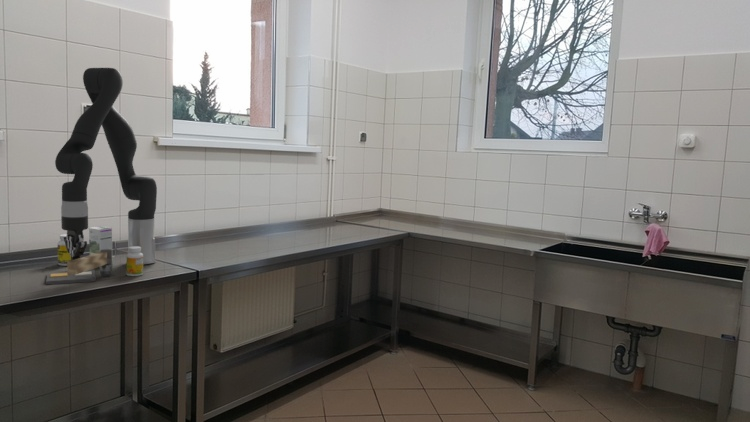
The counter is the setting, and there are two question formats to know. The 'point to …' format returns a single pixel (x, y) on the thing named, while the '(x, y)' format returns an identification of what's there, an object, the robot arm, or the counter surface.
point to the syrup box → (100, 239)
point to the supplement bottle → (134, 261)
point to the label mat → (70, 277)
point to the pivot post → (106, 270)
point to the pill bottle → (63, 252)
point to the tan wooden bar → (89, 262)
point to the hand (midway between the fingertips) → (75, 267)
